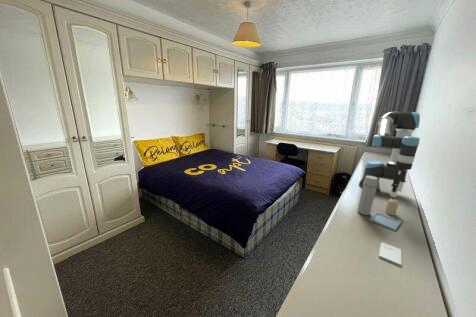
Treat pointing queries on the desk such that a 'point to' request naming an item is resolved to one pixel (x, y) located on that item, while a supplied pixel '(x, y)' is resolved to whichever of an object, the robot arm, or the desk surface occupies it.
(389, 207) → the candle
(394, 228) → the tray
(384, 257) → the external hard drive
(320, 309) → the desk surface
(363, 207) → the water bottle
